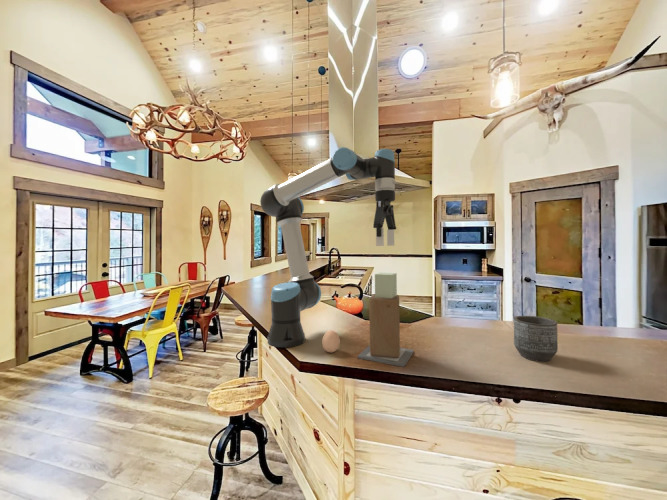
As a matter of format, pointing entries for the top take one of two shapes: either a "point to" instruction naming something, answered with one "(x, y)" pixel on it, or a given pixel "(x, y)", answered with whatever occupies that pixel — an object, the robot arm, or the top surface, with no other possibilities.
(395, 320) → the wooden block
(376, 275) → the sage block
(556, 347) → the planter
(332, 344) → the egg
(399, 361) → the slate mat
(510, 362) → the top surface
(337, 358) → the top surface
